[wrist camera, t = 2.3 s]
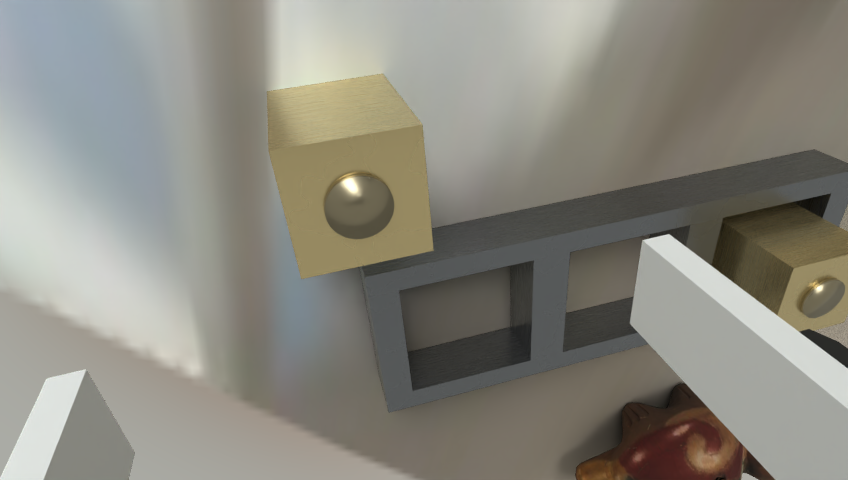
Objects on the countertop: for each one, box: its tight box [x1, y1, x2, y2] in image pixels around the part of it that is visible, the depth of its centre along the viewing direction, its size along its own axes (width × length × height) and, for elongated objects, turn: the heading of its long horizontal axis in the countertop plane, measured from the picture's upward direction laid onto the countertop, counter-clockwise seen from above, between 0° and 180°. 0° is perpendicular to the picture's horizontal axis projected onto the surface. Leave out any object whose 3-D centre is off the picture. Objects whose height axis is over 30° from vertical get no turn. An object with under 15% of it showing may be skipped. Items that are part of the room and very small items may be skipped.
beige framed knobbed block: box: [711, 202, 848, 332], centre depth 31 cm, size 5×5×7 cm
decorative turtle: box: [575, 384, 775, 480], centre depth 39 cm, size 10×15×8 cm, turn 112°
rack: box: [360, 150, 848, 412], centre depth 31 cm, size 9×28×3 cm, turn 95°
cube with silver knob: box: [267, 74, 434, 279], centre depth 21 cm, size 5×5×7 cm
